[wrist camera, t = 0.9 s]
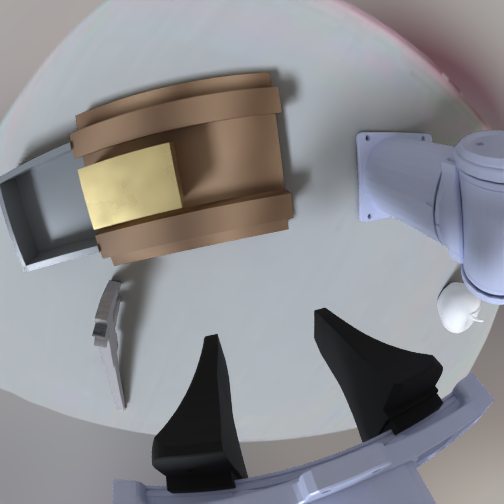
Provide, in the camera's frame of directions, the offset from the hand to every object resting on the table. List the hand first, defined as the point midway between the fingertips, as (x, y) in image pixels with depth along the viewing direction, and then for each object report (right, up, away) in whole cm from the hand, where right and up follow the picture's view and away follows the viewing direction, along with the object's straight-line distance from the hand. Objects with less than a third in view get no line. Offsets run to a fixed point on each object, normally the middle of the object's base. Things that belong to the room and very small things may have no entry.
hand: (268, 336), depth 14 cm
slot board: (-6, +11, +5) cm, 13 cm away
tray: (-17, +8, +4) cm, 19 cm away
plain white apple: (+27, -2, +18) cm, 32 cm away
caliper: (-15, -7, +11) cm, 20 cm away
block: (-9, +9, +4) cm, 13 cm away
